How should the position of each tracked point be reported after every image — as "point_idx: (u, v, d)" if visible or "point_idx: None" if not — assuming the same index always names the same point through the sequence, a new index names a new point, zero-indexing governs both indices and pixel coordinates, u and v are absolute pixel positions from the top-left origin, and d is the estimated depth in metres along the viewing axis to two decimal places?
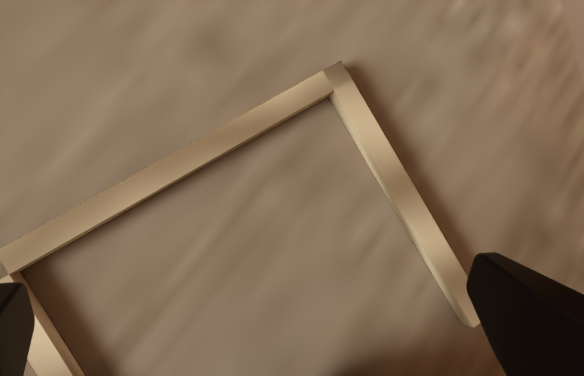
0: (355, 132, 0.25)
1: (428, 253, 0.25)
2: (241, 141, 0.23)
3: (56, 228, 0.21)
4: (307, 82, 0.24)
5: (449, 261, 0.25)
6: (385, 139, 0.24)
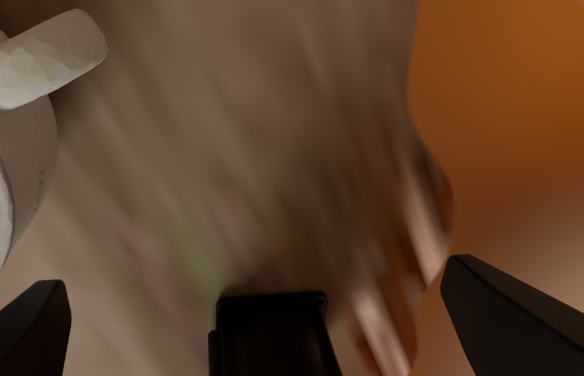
0: None
1: None
2: None
3: None
4: None
5: None
6: None
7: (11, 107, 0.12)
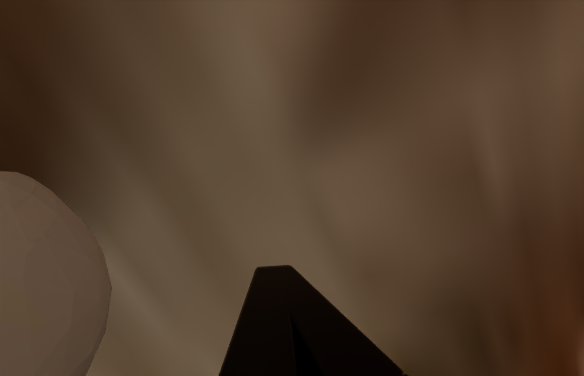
0: None
1: None
2: None
3: None
4: None
5: None
6: None
7: None
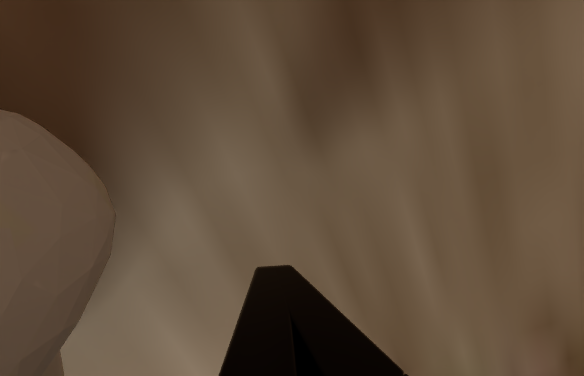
0: None
1: None
2: None
3: None
4: None
5: None
6: None
7: None
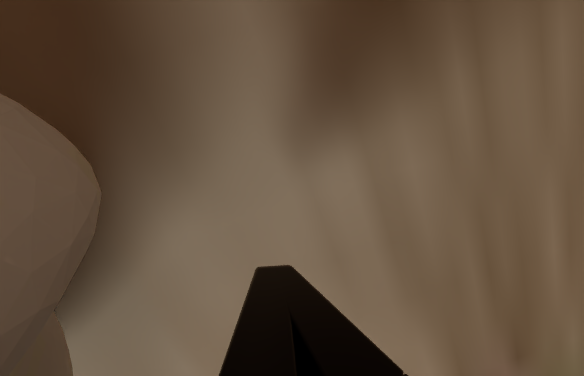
0: None
1: None
2: None
3: None
4: None
5: None
6: None
7: None
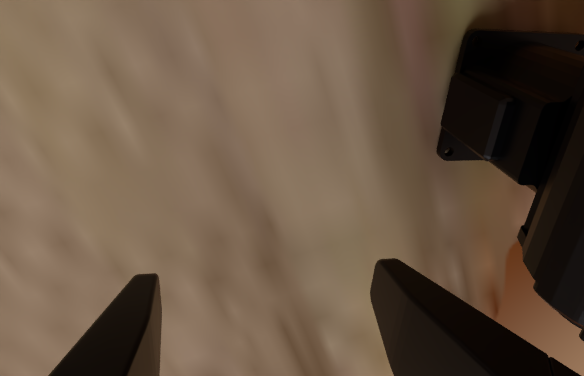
0: None
1: None
2: None
3: None
4: None
5: None
6: None
7: None
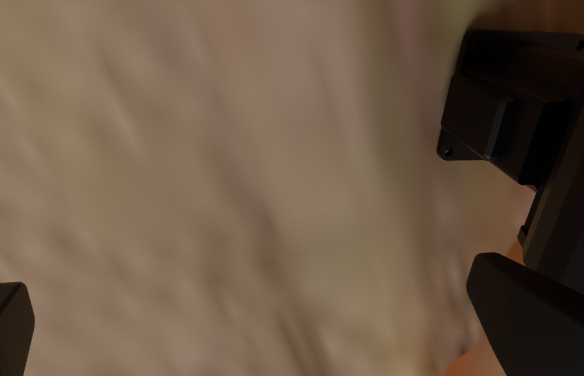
0: None
1: None
2: None
3: None
4: None
5: None
6: None
7: None
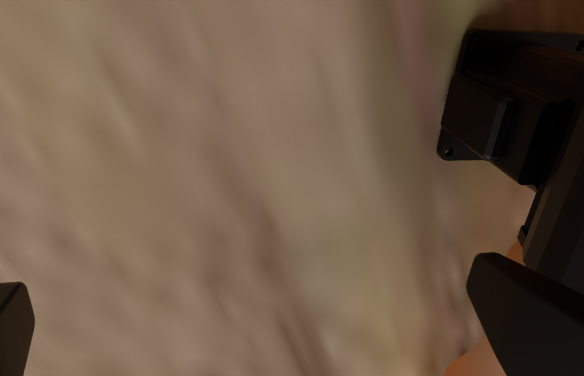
0: None
1: None
2: None
3: None
4: None
5: None
6: None
7: None
